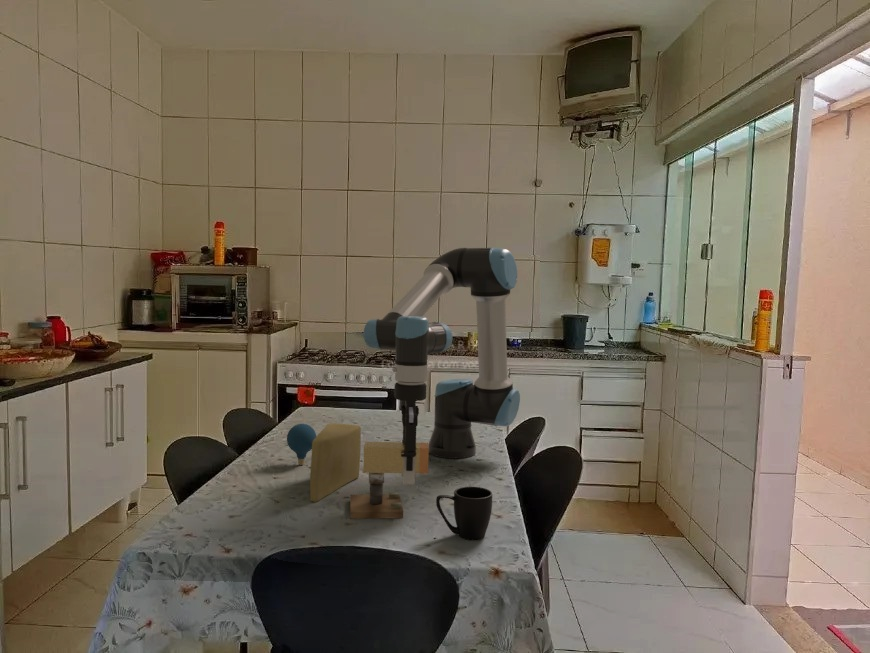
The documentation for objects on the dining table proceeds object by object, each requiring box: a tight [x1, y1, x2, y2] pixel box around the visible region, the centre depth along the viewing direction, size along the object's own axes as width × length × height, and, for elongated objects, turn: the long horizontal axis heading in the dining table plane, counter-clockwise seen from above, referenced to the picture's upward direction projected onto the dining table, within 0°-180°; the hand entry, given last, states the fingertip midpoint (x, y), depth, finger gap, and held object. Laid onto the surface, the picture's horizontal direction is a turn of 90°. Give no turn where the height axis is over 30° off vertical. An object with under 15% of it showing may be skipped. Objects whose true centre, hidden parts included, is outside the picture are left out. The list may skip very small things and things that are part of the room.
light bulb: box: [286, 423, 317, 466], centre depth 189 cm, size 8×8×12 cm
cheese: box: [309, 422, 362, 503], centre depth 169 cm, size 22×10×15 cm, turn 168°
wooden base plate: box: [349, 483, 404, 520], centre depth 155 cm, size 12×12×6 cm
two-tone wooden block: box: [362, 441, 430, 485], centre depth 155 cm, size 15×5×9 cm, turn 93°
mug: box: [435, 486, 493, 542], centre depth 141 cm, size 8×12×10 cm
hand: (408, 479), depth 155 cm, fingers closed on two-tone wooden block, 5 cm apart
